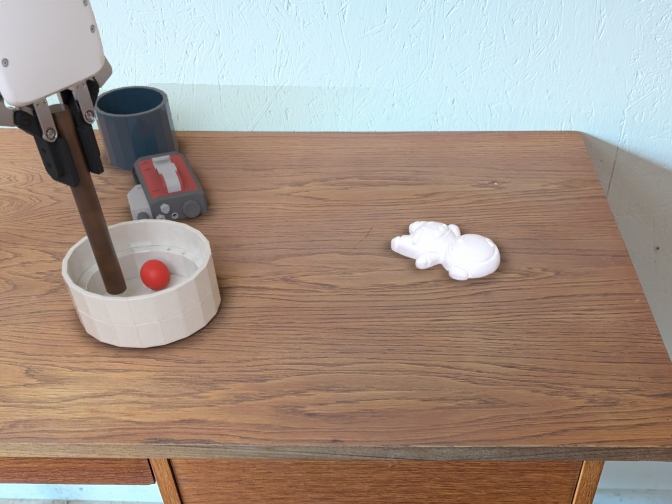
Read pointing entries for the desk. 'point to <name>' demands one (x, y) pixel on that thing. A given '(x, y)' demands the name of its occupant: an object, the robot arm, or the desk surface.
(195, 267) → the bowl
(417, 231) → the white animal figurine
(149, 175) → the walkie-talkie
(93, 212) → the stick
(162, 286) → the red ball
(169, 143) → the crock
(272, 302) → the desk surface
